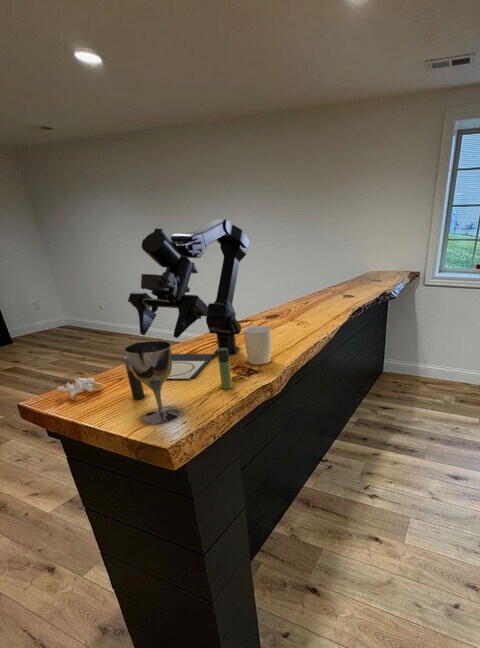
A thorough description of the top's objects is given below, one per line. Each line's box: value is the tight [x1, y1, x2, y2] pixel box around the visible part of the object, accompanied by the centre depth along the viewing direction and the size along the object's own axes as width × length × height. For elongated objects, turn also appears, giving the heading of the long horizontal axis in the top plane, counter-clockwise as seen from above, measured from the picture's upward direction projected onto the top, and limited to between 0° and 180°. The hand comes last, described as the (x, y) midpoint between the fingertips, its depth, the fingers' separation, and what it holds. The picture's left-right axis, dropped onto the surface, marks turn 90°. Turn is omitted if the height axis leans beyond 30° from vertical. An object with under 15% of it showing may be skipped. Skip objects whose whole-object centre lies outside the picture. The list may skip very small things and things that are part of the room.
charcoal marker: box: [123, 355, 145, 401], centre depth 79 cm, size 2×2×10 cm
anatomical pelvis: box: [56, 377, 104, 401], centre depth 82 cm, size 8×4×7 cm
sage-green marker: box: [216, 348, 233, 390], centre depth 85 cm, size 2×2×10 cm
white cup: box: [243, 325, 272, 366], centre depth 103 cm, size 8×8×10 cm
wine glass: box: [124, 340, 181, 425], centre depth 70 cm, size 8×8×15 cm
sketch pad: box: [166, 353, 216, 380], centre depth 101 cm, size 21×16×1 cm
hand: (158, 335), depth 83 cm, fingers open, 9 cm apart
